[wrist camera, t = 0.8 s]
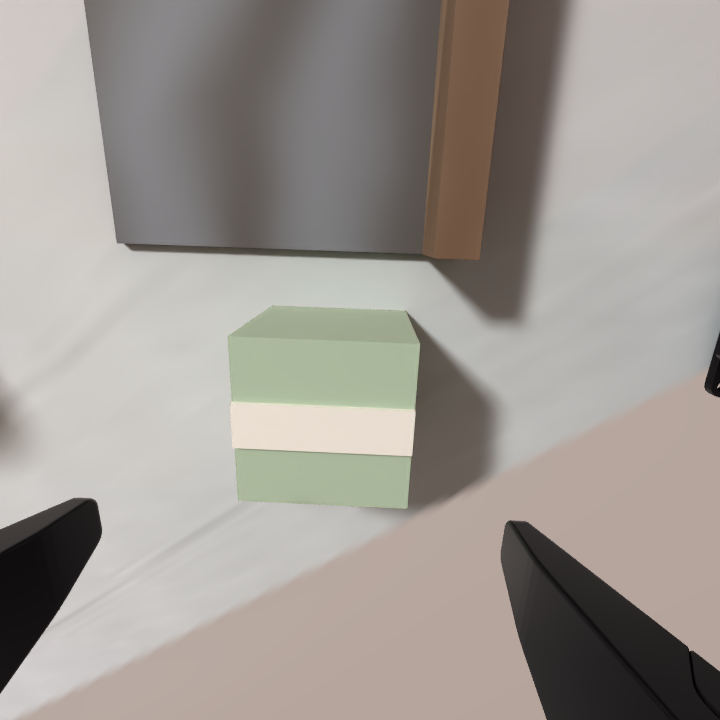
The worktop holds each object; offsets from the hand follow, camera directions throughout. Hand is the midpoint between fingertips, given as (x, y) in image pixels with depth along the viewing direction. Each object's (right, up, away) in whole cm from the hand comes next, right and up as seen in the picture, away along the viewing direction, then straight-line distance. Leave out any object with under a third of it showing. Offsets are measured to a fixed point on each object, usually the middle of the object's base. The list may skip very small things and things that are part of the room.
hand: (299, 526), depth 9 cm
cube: (0, +3, +10) cm, 11 cm away
